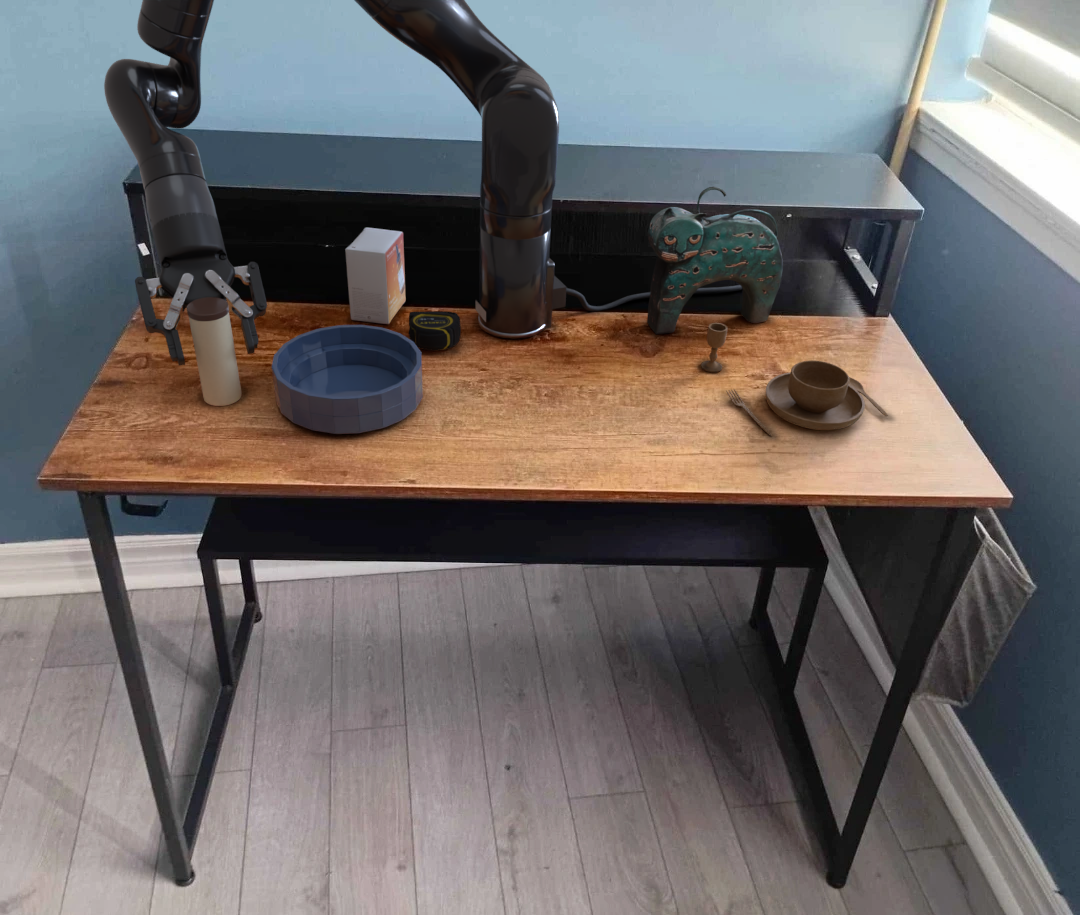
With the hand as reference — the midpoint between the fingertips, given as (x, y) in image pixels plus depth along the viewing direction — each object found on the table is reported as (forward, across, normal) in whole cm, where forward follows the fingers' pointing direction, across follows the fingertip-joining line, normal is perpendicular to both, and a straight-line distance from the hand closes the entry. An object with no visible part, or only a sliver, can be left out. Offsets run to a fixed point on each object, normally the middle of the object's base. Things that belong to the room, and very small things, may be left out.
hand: (217, 357), depth 113 cm
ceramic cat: (+6, +66, +3) cm, 66 cm away
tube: (+3, 0, +5) cm, 6 cm away
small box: (-7, +24, +16) cm, 30 cm away
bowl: (+7, +14, +1) cm, 16 cm away
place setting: (+20, +66, -12) cm, 70 cm away
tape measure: (+1, +28, +8) cm, 29 cm away
